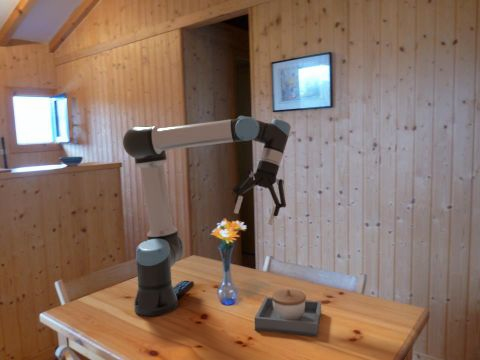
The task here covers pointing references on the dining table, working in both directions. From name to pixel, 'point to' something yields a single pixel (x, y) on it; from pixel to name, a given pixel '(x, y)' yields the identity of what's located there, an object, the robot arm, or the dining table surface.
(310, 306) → the bin
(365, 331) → the dining table surface
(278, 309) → the lidded jar
